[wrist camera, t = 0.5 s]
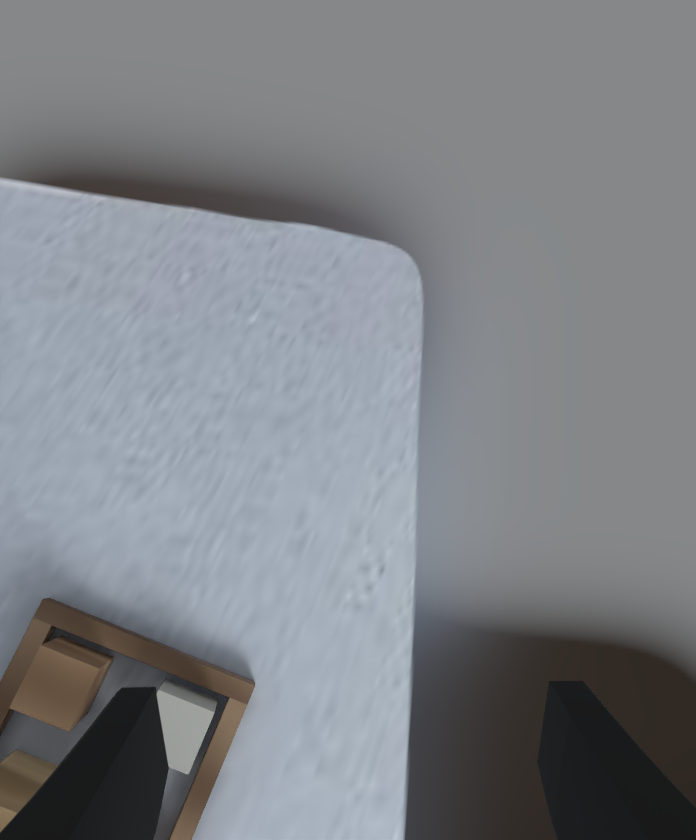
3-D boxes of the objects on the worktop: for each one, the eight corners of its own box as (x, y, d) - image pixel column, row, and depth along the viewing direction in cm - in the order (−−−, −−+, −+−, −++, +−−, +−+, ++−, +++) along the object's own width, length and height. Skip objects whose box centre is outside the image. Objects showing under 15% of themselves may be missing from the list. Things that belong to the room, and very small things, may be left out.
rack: (155, 920, 31) (152, 932, 30) (-73, 833, 31) (-83, 842, 30) (254, 682, 34) (255, 685, 33) (48, 597, 34) (42, 599, 33)
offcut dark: (87, 713, 33) (69, 731, 30) (33, 691, 33) (8, 708, 29) (114, 657, 34) (99, 668, 30) (62, 635, 34) (40, 645, 30)
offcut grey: (193, 755, 33) (188, 774, 30) (141, 734, 33) (130, 752, 30) (217, 698, 34) (214, 712, 31) (166, 678, 34) (158, 689, 31)
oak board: (139, 857, 32) (115, 925, 26) (-9, 800, 32) (-68, 855, 26) (161, 806, 33) (142, 861, 27) (16, 748, 32) (-36, 792, 26)
